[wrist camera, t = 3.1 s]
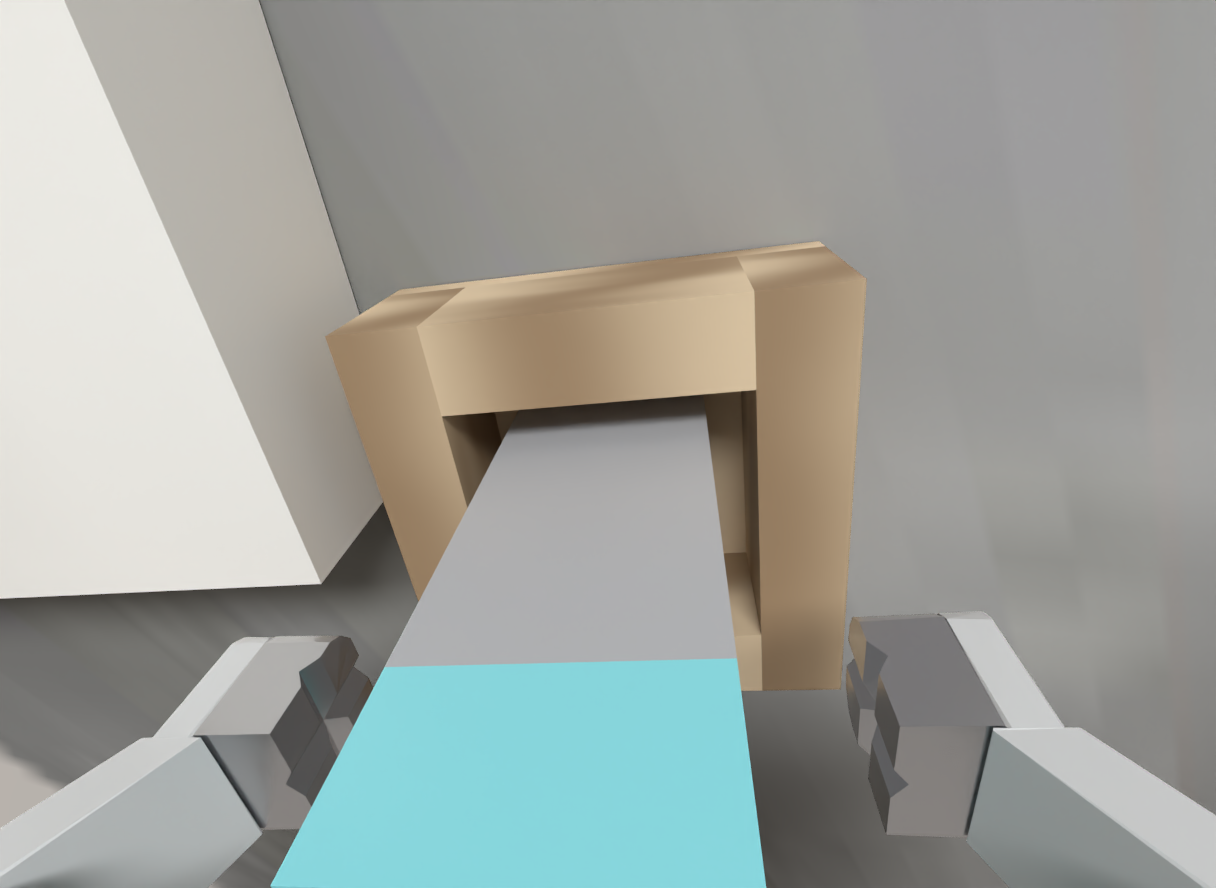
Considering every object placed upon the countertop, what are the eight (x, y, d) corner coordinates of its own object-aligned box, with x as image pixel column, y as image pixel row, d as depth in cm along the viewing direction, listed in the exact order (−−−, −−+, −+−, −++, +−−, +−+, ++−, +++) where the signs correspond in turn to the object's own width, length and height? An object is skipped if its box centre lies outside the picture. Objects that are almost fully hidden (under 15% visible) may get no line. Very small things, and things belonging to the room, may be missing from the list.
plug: (701, 379, 12) (767, 900, 4) (710, 526, 13) (770, 1109, 5) (526, 394, 12) (270, 885, 4) (555, 535, 14) (405, 1083, 6)
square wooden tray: (818, 241, 11) (865, 279, 8) (809, 586, 15) (840, 689, 12) (400, 289, 12) (324, 336, 9) (488, 599, 16) (452, 696, 13)
